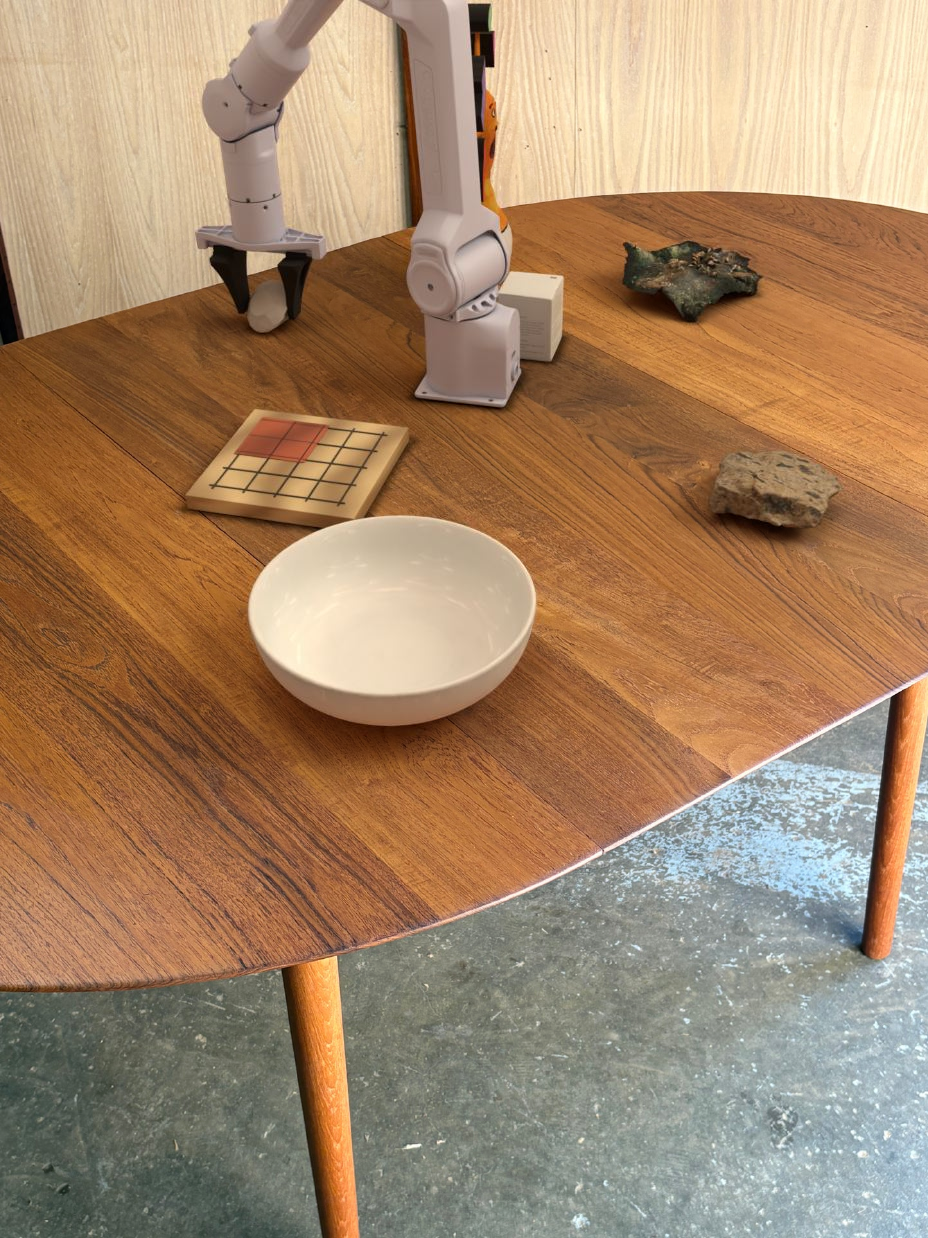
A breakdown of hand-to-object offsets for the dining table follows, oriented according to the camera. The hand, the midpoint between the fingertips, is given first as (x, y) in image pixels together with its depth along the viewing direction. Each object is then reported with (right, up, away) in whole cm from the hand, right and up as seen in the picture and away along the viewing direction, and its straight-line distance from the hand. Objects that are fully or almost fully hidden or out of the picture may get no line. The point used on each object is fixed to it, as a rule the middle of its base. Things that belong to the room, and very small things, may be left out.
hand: (269, 312), depth 138 cm
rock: (+50, -25, -30) cm, 63 cm away
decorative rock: (+49, +5, +7) cm, 50 cm away
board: (+7, -21, -24) cm, 33 cm away
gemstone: (0, -1, +1) cm, 2 cm away
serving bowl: (+17, -38, -46) cm, 62 cm away
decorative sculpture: (+24, +6, +9) cm, 26 cm away
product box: (+29, -5, -5) cm, 30 cm away
